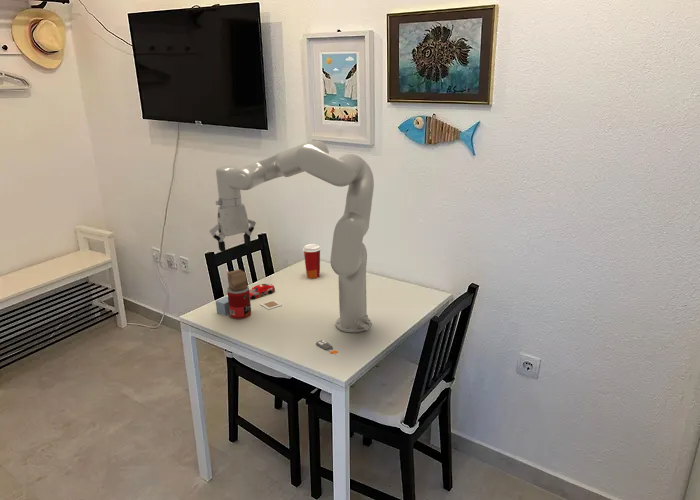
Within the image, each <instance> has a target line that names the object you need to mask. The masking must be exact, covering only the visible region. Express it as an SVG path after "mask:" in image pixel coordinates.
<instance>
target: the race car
mask: <svg viewBox="0 0 700 500" xmlns="http://www.w3.org/2000/svg"><path fill="white" fill-rule="evenodd" d="M249 292H250V300H251V301H253V300H255V299H258V298H261V297H264V296H267V295H272V294H273V293H275V292H276V287H275V286H274V285H273V284H271V283H260V284H256V285H255V286H253V287H251V289H249Z"/></svg>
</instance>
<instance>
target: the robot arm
mask: <svg viewBox="0 0 700 500" xmlns="http://www.w3.org/2000/svg"><path fill="white" fill-rule="evenodd" d="M304 172H305V173H307V174H309V175H311V176H313V177H315V178H317V179H320V180H322V181H324V182H325V183H328V184H330V185H332V186H336V187H346V186H348V187H347V188H348V189H347V193H346V197H345V205H344V206H345V207H344V212H343V215H342V216H341V217H340V219H338V221H337V222H336V224H335V227H334V230H333V236H332V242H331V243H332V244H331V252H330V253H331V254H330V267H331V268H332V271H333V272H334V273H335V274H336V275H338V302H339V304H338V305H339V306H338V307H339V317H338V318H337V319H336V321H335V327H336V328H337V329H338V330H340V331H341V332H344V333H361V332H364V331H368V330H369V329H370V328H371V327H372V326H373V323H372V320H371V318H369V315H368V314H367V313H368V310H367V309H368V308H367V263H368V251H367V248H366V247H367V246H366V245H365V243H363V241H364V237H365V236H366V234H367V233H368V232H369V231H368V230H369V229H370V219H371V211H372V207H373V206H372V205H373V196H374V187H375V186H374V185H375V181H374V175H373V171H372V169H371V167H370V165H369V164H368V162H367V161H365V159H363V158H362V157H361V156H360V155H357V154H354V153H347V154H344V155H342V156H340V157H336V156H335V155H332V154H330V151H329V149H328V146H327V145H326V143H324V142H323V141H321V140H316V139H315V140H311V141H307V142H305V143H302V144H300V145H297V146H294V147H291V148H288V149H286V150H283V151H280V152H277V153H276V154H275V155H272V156H270V157H267V158H263V159H262V160H258V161H256V162H253V163H250V164H247V165H245V166H243V167H239V168H238V167H237V166H234V165H223V166H219V167H217V168H216V171H215V176H216V185H217V192H218V199H217V200H216V201H215V205H216V206H218V207H217V224H215V226H213V227H212V228H211V229H210V230H209V233H210V235H211V236H212V238H213V239H215V240H216V241H217V243H218V250H219V251H220V252H222V253H226V252H227V251H226V244H225V243H226V242H225V240H224V239H225V238H226V237H230V236H234V235H239V234H243V233H244V234H243V242H244V245H245V246H246V247H251V244H252V243H251V235H252V232H253V231H254V230H255V227H256V223H257V222H256V221H255V220H251V219H249V218H248V214H247V209H246V207H245V204H244V203H242V192H241V191H248V190H251V189H254V188H255V187H257V186H259V185H261V184H264V183H265V182H269V181H272V180H274V179H278V178H281V177H284V178H289V177H292V176H295V175H298V174H301V173H304ZM217 231H218V234H217V233H216V232H217Z"/></svg>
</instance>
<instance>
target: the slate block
mask: <svg viewBox="0 0 700 500" xmlns="http://www.w3.org/2000/svg"><path fill="white" fill-rule="evenodd" d="M215 307H216V313H217V314H220V315H222V316H225V317H227V316H229V315H230V310H229V302H228V295H226V296H224V297H222V298H221V297H220V298H219V299H217V300H215Z"/></svg>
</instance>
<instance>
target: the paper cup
mask: <svg viewBox="0 0 700 500" xmlns="http://www.w3.org/2000/svg"><path fill="white" fill-rule="evenodd" d="M321 249H322V248H321V246H320V245H319V244H317V243H308V244H306V245H304V246H303V248H302V250H303V256H304V263H305V264H304V265H305V273H306V278H307V279H310V280H312V279H313V280H315V279H319V278H320V276H321Z"/></svg>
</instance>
